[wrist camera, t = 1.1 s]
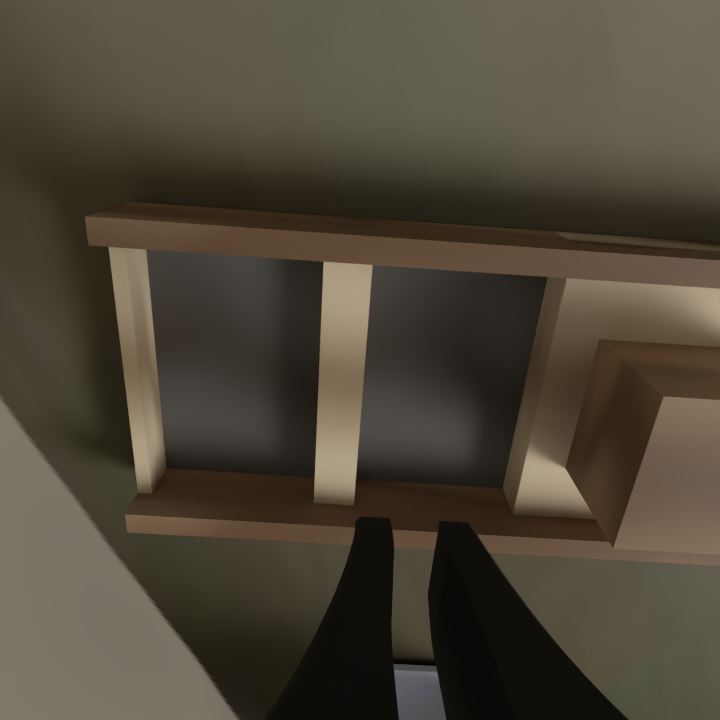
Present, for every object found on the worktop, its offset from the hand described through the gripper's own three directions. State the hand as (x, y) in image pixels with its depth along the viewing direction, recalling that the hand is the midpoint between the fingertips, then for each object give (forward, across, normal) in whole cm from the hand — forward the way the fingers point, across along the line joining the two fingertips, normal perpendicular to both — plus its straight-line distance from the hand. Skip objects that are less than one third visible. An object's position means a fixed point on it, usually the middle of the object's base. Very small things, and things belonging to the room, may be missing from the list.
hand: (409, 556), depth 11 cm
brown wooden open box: (+9, -6, 0) cm, 11 cm away
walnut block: (+7, -9, 0) cm, 12 cm away
